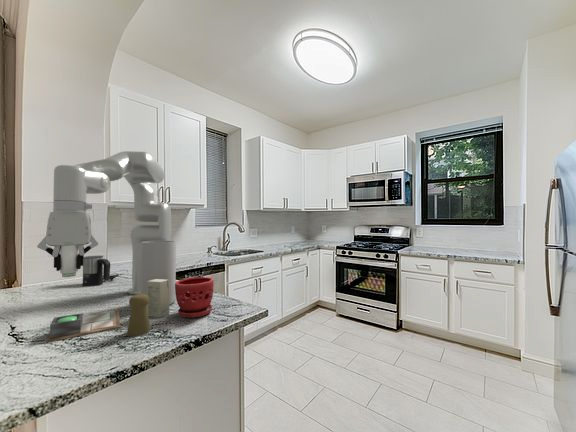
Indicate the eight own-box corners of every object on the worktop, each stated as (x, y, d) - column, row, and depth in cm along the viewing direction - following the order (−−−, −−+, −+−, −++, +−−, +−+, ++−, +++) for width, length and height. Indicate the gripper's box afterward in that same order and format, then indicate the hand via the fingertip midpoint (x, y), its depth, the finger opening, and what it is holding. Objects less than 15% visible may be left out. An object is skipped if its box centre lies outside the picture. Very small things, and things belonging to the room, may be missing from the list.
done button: (77, 323, 79) (77, 315, 79) (76, 327, 76) (76, 319, 76) (58, 326, 77) (58, 318, 77) (56, 331, 73) (56, 322, 73)
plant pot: (212, 306, 102) (212, 275, 102) (214, 317, 89) (214, 282, 89) (176, 309, 97) (176, 277, 98) (172, 322, 85) (173, 285, 85)
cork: (133, 328, 80) (133, 292, 80) (153, 327, 81) (154, 292, 81) (122, 336, 74) (123, 298, 74) (144, 336, 75) (145, 297, 75)
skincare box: (169, 313, 93) (170, 279, 93) (160, 317, 89) (160, 282, 89) (156, 311, 95) (156, 278, 95) (146, 315, 91) (146, 280, 91)
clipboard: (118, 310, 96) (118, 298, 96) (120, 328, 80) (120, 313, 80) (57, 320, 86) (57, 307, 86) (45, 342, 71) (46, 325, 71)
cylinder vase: (132, 306, 101) (134, 242, 101) (157, 298, 113) (158, 240, 113) (158, 310, 97) (159, 243, 98) (181, 300, 109) (182, 240, 110)
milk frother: (77, 286, 133) (78, 257, 133) (94, 280, 148) (94, 254, 149) (108, 285, 136) (108, 257, 136) (121, 279, 151) (122, 253, 151)
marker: (78, 273, 80) (78, 240, 80) (77, 276, 77) (77, 242, 76) (61, 274, 78) (61, 241, 77) (58, 278, 74) (59, 243, 74)
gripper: (104, 209, 85) (103, 265, 85) (34, 207, 76) (33, 270, 75) (104, 208, 79) (103, 268, 78) (27, 206, 69) (26, 274, 69)
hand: (69, 268), depth 77 cm, fingers closed on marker, 4 cm apart
